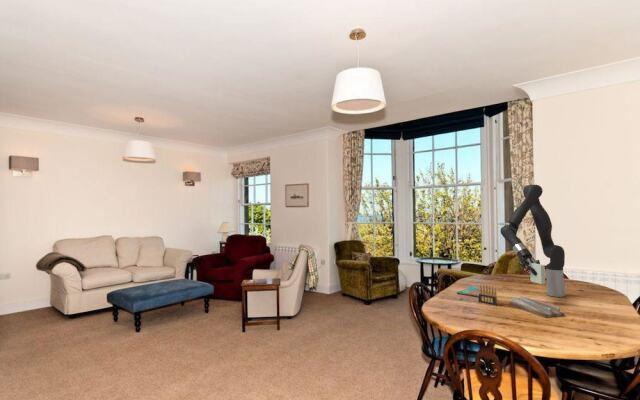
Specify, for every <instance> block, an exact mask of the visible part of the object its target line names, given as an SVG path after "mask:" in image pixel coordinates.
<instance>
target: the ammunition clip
mask: <svg viewBox="0 0 640 400" xmlns="http://www.w3.org/2000/svg"><path fill="white" fill-rule="evenodd" d="M478 286H479V287H478V288H479V298H478V303H481V304H486V305H491V306H498V297H497V287H496V284H494V285H493V284H490V283H488V284H487V283H481V282H479V284H478ZM481 288H482V289H481ZM484 288H485V290H484ZM487 289H488V291H487ZM490 289H491V291H490ZM493 290H494V291H493Z"/></svg>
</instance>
